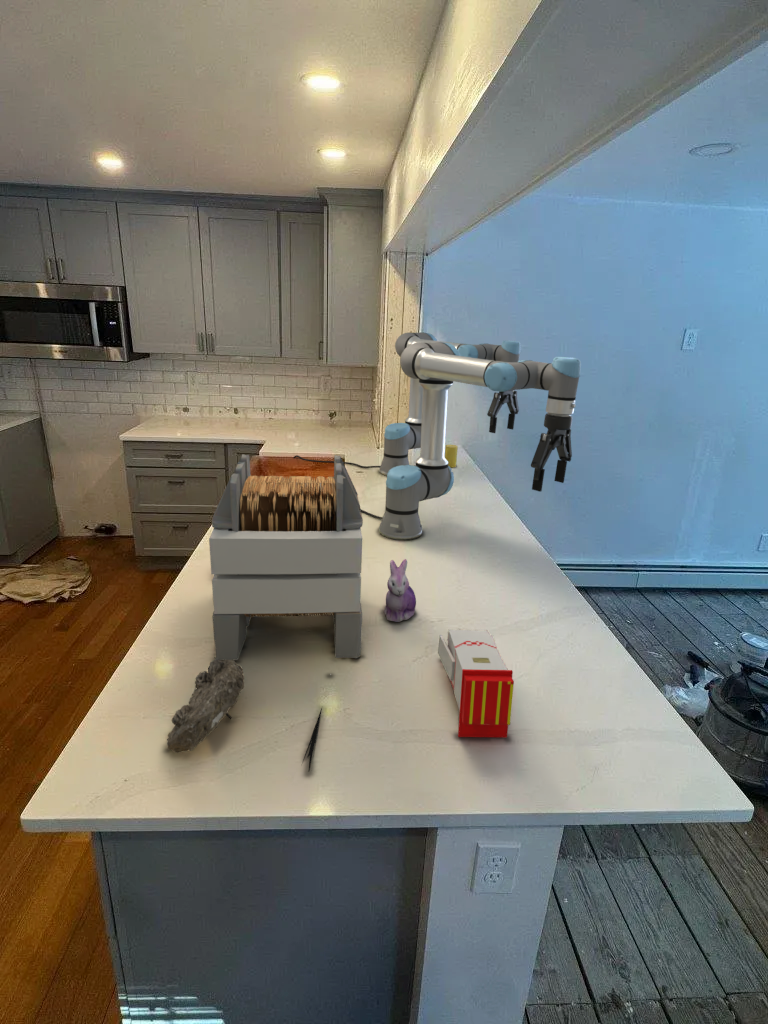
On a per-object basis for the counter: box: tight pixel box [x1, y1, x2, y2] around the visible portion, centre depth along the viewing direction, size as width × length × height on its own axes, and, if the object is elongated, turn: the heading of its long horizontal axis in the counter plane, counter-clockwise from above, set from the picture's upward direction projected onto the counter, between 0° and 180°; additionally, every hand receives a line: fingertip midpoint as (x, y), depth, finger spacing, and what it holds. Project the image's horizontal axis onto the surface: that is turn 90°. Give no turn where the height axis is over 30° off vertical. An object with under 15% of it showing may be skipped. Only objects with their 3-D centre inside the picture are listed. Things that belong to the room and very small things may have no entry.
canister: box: [444, 444, 459, 469], centre depth 288 cm, size 6×6×10 cm
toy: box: [437, 628, 515, 738], centre depth 117 cm, size 12×13×30 cm
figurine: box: [384, 558, 417, 623], centre depth 145 cm, size 9×10×15 cm
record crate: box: [208, 453, 364, 661], centre depth 135 cm, size 34×33×41 cm
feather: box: [301, 673, 332, 771], centre depth 108 cm, size 2×28×2 cm
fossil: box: [166, 659, 245, 754], centre depth 106 cm, size 22×10×15 cm
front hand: (548, 486), depth 167 cm, fingers open, 13 cm apart
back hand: (501, 430), depth 241 cm, fingers open, 13 cm apart
